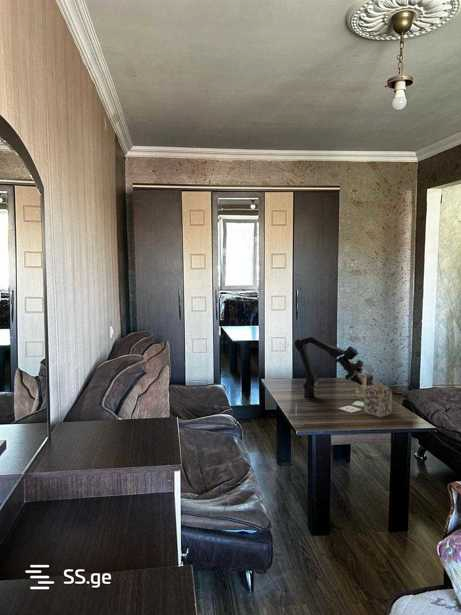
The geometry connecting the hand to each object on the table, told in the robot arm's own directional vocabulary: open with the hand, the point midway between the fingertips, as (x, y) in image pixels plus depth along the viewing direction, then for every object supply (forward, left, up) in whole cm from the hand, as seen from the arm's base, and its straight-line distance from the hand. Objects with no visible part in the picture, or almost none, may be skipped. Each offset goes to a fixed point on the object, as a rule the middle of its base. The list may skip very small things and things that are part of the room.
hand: (363, 383), depth 281 cm
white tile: (-6, -12, -13) cm, 19 cm away
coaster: (-1, +1, -13) cm, 14 cm away
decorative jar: (+10, -14, -14) cm, 22 cm away
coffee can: (-1, +23, -14) cm, 27 cm away
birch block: (-1, 0, -6) cm, 6 cm away
